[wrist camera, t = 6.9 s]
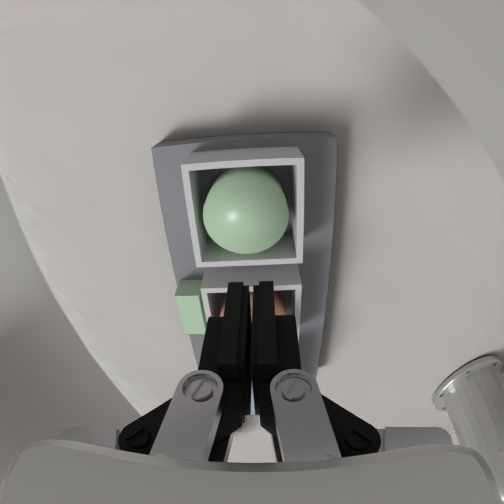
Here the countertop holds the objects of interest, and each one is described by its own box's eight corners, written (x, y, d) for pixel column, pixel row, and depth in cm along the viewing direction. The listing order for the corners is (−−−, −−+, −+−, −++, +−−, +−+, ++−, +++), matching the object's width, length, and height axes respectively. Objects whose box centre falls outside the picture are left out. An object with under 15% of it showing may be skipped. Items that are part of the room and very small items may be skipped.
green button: (283, 160, 20) (288, 174, 17) (284, 230, 22) (288, 252, 20) (205, 164, 20) (198, 179, 17) (213, 233, 22) (208, 255, 20)
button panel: (159, 142, 21) (136, 159, 17) (330, 132, 21) (350, 147, 16) (205, 373, 34) (201, 409, 30) (313, 369, 33) (318, 406, 29)
